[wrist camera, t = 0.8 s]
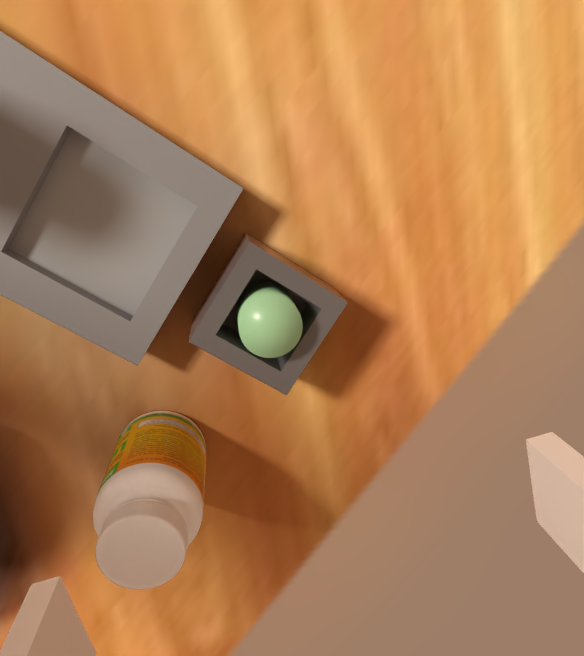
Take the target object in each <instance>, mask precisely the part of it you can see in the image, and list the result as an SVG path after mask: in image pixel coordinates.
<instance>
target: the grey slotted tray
mask: <svg viewBox="0 0 584 656" xmlns="http://www.w3.org/2000/svg"><path fill="white" fill-rule="evenodd" d="M242 190H243V188H242V187H240V186H239V185H237V184H236V183H234V182H233V181H231V180H230V179H228V178H227V177H225V176H224V175H222V174H220V173H219V172H217V171H216V170H214V169H213V168H211V167H210V166H208V165H207V164H205V163H203V162H202V161H200V160H199V159H197V158H196V157H194V156H193V155H191V154H190V153H188V152H186V151H185V150H183V149H182V148H180V147H179V146H177V145H176V144H174V143H173V142H171V141H169V140H168V139H166V138H165V137H163V136H162V135H160V134H159V133H157V132H156V131H154V130H153V129H151V128H149V127H148V126H146V125H145V124H143V123H142V122H140V121H139V120H137V119H136V118H134V117H132V116H131V115H129V114H128V113H126V112H125V111H123V110H122V109H120V108H119V107H117V106H115V105H114V104H112V103H111V102H109V101H108V100H106V99H105V98H103V97H102V96H100V95H98V94H97V93H95V92H94V91H92V90H91V89H89V88H88V87H86V86H85V85H83V84H82V83H80V82H78V81H77V80H75V79H74V78H72V77H71V76H69V75H68V74H66V73H65V72H63V71H61V70H60V69H58V68H57V67H55V66H54V65H52V64H51V63H49V62H48V61H46V60H44V59H43V58H41V57H40V56H38V55H37V54H35V53H34V52H32V51H31V50H29V49H27V48H26V47H24V46H23V45H21V44H20V43H18V42H17V41H15V40H14V39H12V38H11V37H9V36H7V35H6V34H4V33H3V32H1V31H0V295H2V296H4V297H6V298H8V299H10V300H12V301H14V302H15V303H17V304H19V305H21V306H23V307H25V308H27V309H29V310H31V311H33V312H35V313H37V314H39V315H41V316H42V317H44V318H46V319H48V320H50V321H52V322H54V323H56V324H58V325H60V326H62V327H64V328H66V329H68V330H69V331H71V332H73V333H75V334H77V335H79V336H81V337H83V338H85V339H87V340H89V341H91V342H93V343H95V344H96V345H98V346H100V347H102V348H104V349H106V350H108V351H110V352H112V353H114V354H116V355H118V356H120V357H122V358H123V359H125V360H127V361H129V362H131V363H133V364H135V365H137V366H138V364H139V362H140V361H141V359H142V357H143V356H144V354H145V352H146V351H147V349H148V347H149V346H150V344H151V342H152V341H153V339H154V337H155V336H156V334H157V332H158V331H159V329H160V327H161V326H162V324H163V322H164V321H165V319H166V317H167V316H168V314H169V312H170V311H171V309H172V307H173V306H174V304H175V302H176V300H177V299H178V297H179V295H180V294H181V292H182V290H183V289H184V287H185V285H186V284H187V282H188V280H189V279H190V277H191V275H192V274H193V272H194V270H195V269H196V267H197V265H198V264H199V262H200V260H201V259H202V257H203V255H204V254H205V252H206V250H207V249H208V247H209V245H210V244H211V242H212V240H213V239H214V237H215V235H216V234H217V232H218V230H219V229H220V227H221V225H222V224H223V222H224V220H225V219H226V217H227V215H228V214H229V212H230V210H231V209H232V207H233V205H234V203H235V202H236V200H237V198H238V197H239V195H240V193H241V192H242Z"/></svg>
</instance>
